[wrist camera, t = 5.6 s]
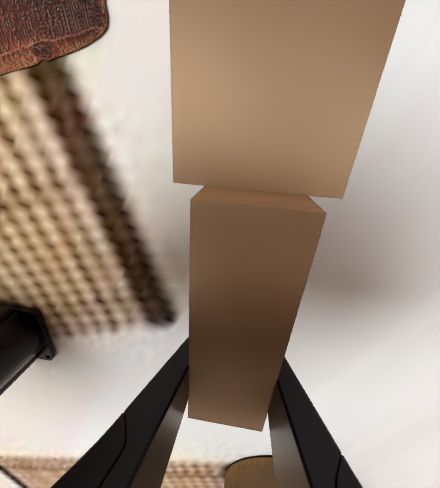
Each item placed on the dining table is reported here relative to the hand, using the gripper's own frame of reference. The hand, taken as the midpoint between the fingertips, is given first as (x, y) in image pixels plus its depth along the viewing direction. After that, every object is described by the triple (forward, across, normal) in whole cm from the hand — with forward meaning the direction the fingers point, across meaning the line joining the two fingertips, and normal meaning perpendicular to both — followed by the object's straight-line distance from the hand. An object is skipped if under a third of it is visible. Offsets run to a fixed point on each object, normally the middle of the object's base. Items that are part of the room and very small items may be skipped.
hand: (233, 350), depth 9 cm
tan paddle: (+2, 0, -6) cm, 6 cm away
